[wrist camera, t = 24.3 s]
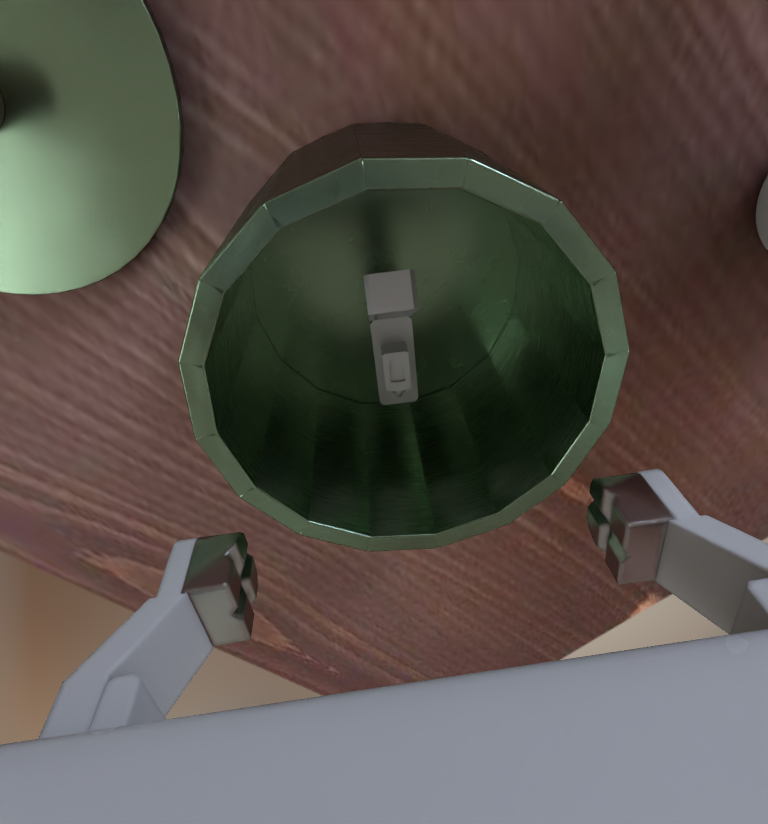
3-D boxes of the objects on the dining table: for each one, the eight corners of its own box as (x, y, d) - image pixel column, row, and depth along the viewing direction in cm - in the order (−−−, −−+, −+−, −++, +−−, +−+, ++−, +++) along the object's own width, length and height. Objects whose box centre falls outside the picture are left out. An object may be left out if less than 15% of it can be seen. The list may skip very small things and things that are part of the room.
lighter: (408, 358, 28) (430, 449, 22) (375, 362, 28) (386, 455, 22) (396, 216, 25) (416, 273, 18) (357, 221, 25) (363, 280, 18)
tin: (318, 444, 31) (309, 592, 23) (176, 206, 24) (80, 287, 15) (558, 352, 29) (652, 476, 20) (482, 60, 22) (578, 56, 13)
